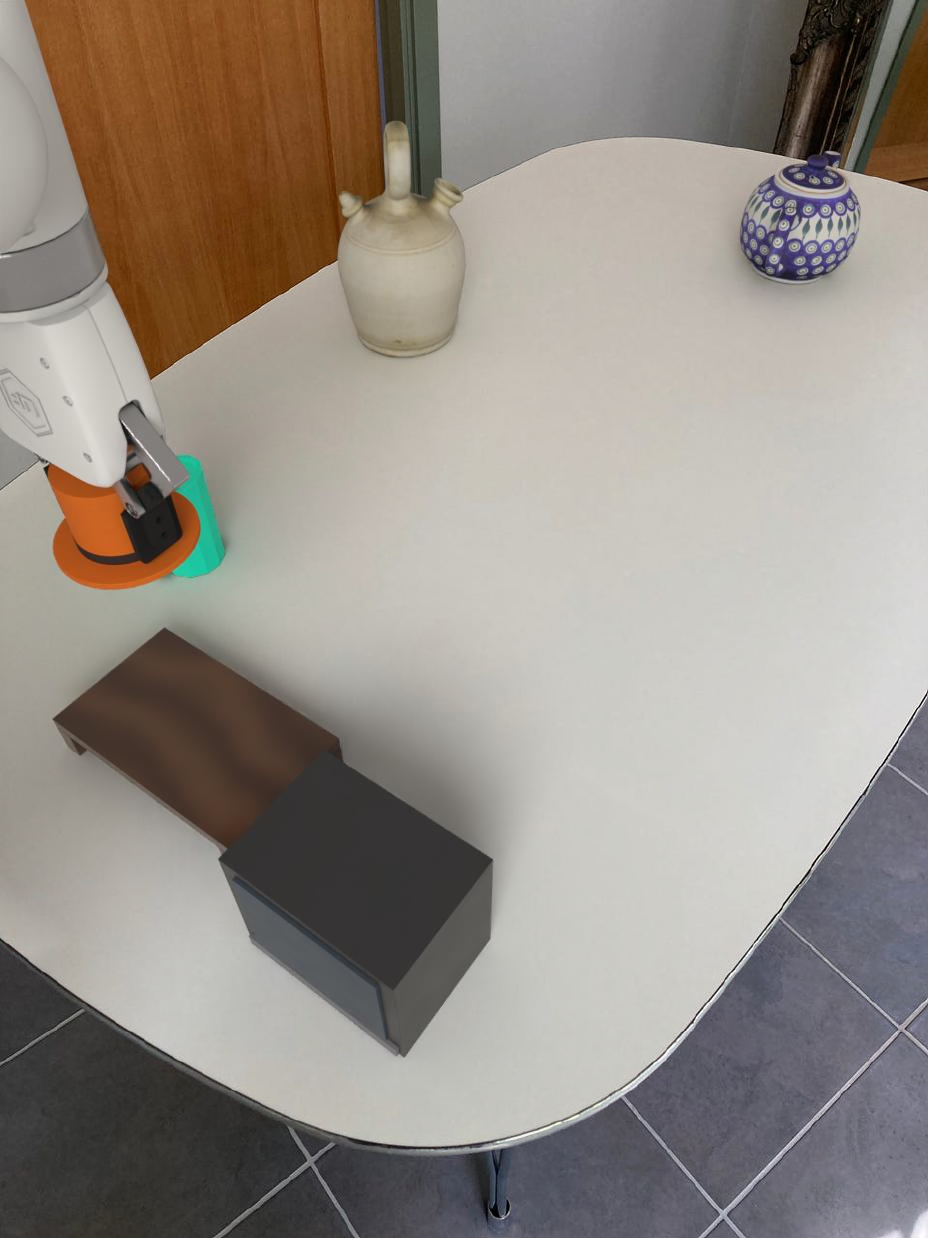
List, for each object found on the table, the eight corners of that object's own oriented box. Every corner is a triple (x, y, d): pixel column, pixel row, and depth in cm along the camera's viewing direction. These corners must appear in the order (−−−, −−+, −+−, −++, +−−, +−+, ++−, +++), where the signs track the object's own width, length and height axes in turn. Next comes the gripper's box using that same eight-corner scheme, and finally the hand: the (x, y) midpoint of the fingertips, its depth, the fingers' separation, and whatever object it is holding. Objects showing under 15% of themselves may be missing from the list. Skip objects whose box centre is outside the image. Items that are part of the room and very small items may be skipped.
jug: (474, 302, 125) (474, 98, 107) (456, 370, 115) (453, 157, 96) (360, 294, 127) (340, 92, 108) (332, 360, 117) (305, 149, 98)
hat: (121, 612, 56) (90, 539, 52) (24, 549, 60) (-13, 475, 55) (230, 526, 61) (211, 452, 56) (135, 472, 64) (109, 398, 60)
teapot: (811, 324, 121) (845, 209, 110) (701, 292, 127) (723, 179, 116) (869, 242, 135) (904, 133, 124) (768, 216, 141) (793, 109, 130)
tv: (401, 1062, 63) (389, 995, 54) (247, 941, 68) (213, 862, 59) (490, 938, 68) (493, 859, 59) (341, 836, 74) (323, 749, 65)
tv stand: (240, 876, 72) (230, 851, 69) (67, 746, 79) (51, 718, 76) (344, 766, 78) (339, 738, 75) (175, 655, 86) (164, 626, 83)
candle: (237, 545, 95) (212, 449, 86) (202, 584, 92) (172, 489, 83) (187, 528, 97) (158, 432, 88) (151, 566, 93) (117, 470, 84)
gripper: (-153, 234, 47) (-13, 505, 61) (73, 349, 41) (174, 625, 54) (-24, 178, 51) (81, 444, 65) (202, 274, 45) (266, 548, 58)
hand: (123, 524), depth 59 cm, fingers closed on hat, 6 cm apart
